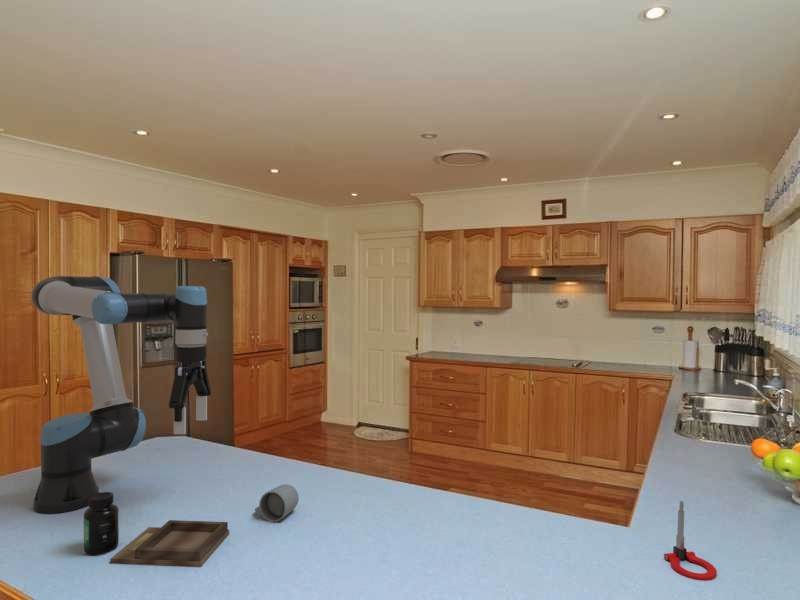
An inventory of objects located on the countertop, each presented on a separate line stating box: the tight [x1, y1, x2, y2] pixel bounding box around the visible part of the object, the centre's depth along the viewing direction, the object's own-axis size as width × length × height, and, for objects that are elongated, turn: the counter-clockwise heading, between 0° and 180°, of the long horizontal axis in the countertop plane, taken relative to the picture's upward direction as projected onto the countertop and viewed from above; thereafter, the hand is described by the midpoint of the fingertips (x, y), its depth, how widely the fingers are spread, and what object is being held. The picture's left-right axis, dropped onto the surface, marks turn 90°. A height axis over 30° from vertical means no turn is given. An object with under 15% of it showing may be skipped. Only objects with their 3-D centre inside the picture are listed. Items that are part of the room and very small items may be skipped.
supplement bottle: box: [83, 491, 120, 556], centre depth 118 cm, size 7×7×12 cm
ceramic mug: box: [254, 483, 299, 523], centre depth 136 cm, size 11×8×8 cm
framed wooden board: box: [109, 519, 230, 568], centre depth 118 cm, size 20×15×3 cm
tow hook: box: [663, 500, 718, 581], centre depth 109 cm, size 8×13×9 cm
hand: (191, 426), depth 136 cm, fingers open, 13 cm apart
